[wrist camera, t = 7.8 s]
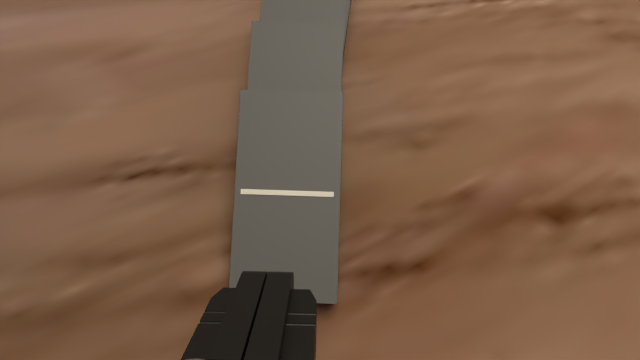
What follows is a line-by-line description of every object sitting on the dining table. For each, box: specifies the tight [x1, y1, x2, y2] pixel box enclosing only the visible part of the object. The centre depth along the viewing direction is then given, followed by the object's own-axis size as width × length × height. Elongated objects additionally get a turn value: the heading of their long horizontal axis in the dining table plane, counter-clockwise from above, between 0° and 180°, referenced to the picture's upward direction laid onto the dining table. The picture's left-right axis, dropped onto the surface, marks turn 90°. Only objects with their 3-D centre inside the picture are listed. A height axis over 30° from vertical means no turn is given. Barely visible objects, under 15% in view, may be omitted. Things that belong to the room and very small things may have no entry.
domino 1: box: [260, 0, 346, 84], centre depth 23 cm, size 2×5×10 cm
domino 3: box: [229, 89, 343, 304], centre depth 19 cm, size 2×5×10 cm
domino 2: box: [247, 21, 344, 92], centre depth 21 cm, size 2×5×10 cm
